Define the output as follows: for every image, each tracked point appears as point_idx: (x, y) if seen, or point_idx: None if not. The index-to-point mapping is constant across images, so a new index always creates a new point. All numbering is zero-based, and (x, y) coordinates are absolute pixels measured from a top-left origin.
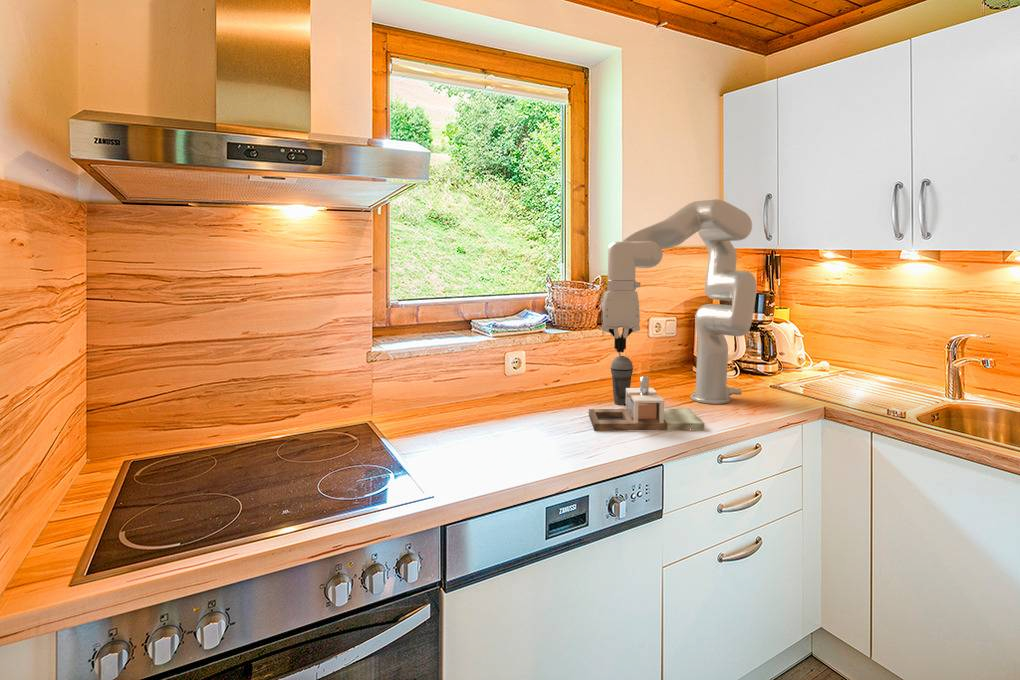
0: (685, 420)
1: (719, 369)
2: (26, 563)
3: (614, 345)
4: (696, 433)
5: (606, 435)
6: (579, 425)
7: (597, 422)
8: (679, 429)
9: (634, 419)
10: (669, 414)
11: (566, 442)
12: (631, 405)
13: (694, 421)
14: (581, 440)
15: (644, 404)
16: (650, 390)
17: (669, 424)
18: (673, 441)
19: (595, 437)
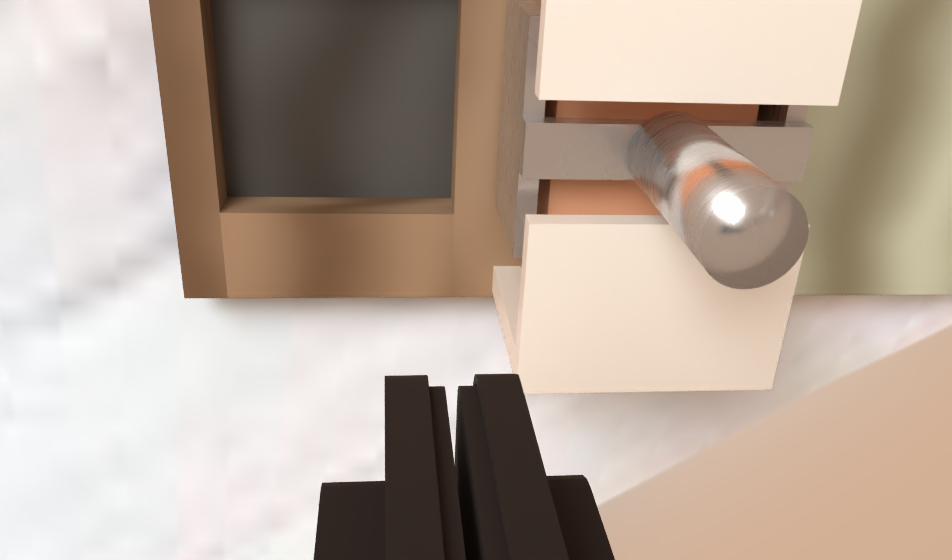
0: (884, 230)
1: None
2: None
3: (318, 531)
4: (863, 325)
5: (278, 362)
6: (74, 146)
7: (210, 270)
8: None
9: (496, 305)
10: (846, 70)
11: (13, 478)
12: (510, 230)
13: (932, 256)
14: (109, 446)
15: (634, 208)
16: (806, 14)
17: None
18: (664, 451)
19: (202, 397)
